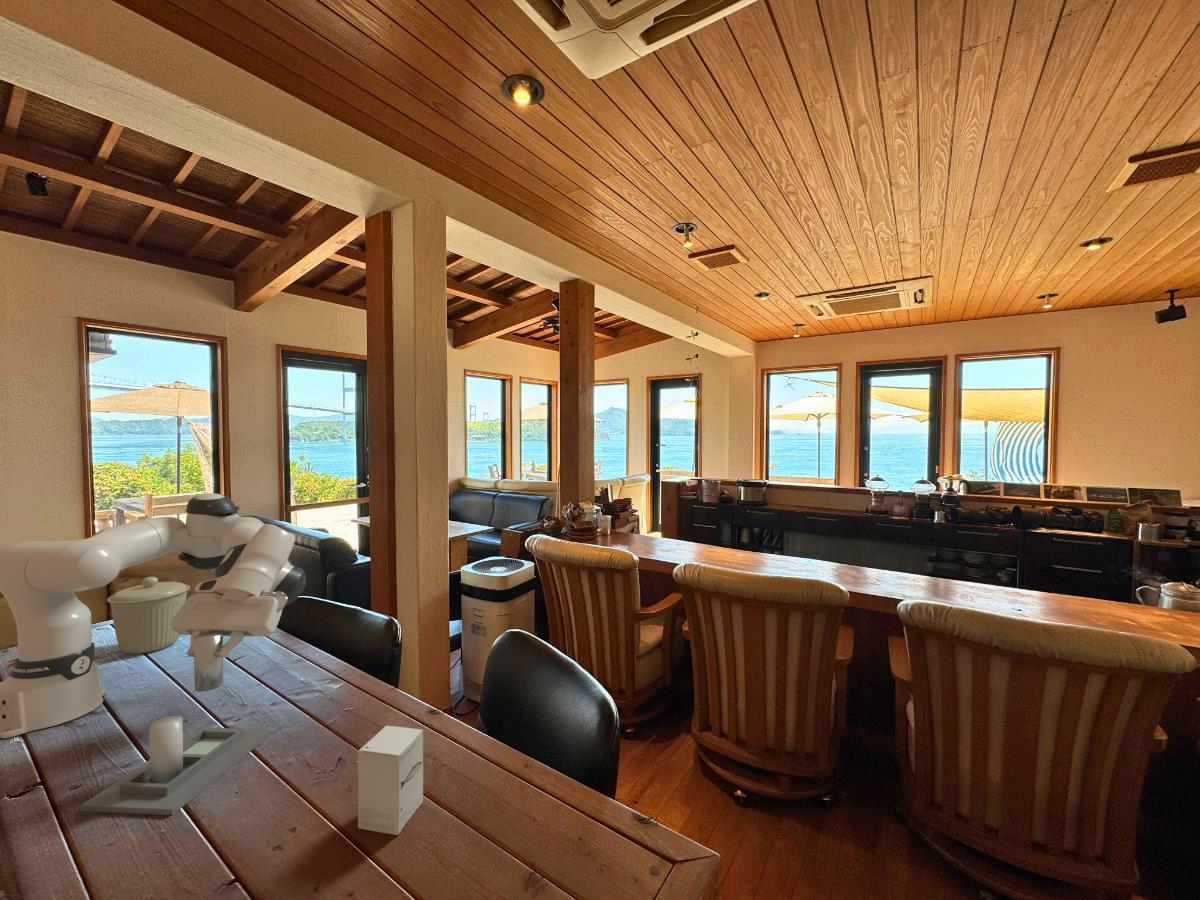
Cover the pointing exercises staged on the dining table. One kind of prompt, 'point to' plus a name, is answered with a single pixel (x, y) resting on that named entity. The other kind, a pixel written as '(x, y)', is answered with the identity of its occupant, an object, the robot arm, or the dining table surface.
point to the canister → (147, 615)
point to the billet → (208, 661)
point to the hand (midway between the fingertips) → (205, 656)
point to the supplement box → (390, 779)
